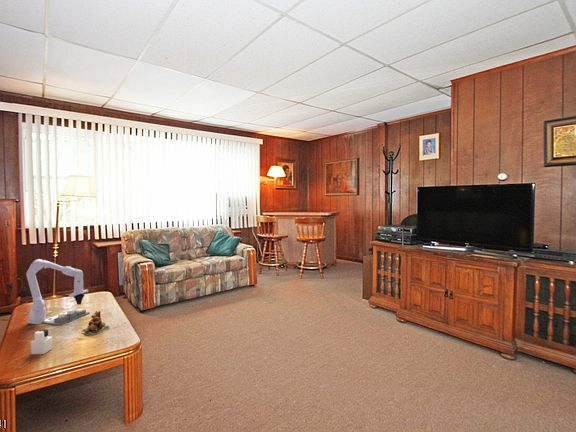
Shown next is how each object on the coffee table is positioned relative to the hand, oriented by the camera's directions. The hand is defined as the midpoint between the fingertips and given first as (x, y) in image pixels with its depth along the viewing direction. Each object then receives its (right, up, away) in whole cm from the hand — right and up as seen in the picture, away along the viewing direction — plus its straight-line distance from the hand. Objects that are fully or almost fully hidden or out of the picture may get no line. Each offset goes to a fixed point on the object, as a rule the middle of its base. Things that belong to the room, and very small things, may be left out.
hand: (79, 304), depth 232 cm
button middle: (-2, -6, -6) cm, 9 cm away
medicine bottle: (+16, -11, -55) cm, 59 cm away
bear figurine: (+29, -10, -27) cm, 41 cm away
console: (-7, -9, -5) cm, 12 cm away
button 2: (0, -7, 0) cm, 7 cm away
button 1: (-4, -6, -13) cm, 15 cm away
